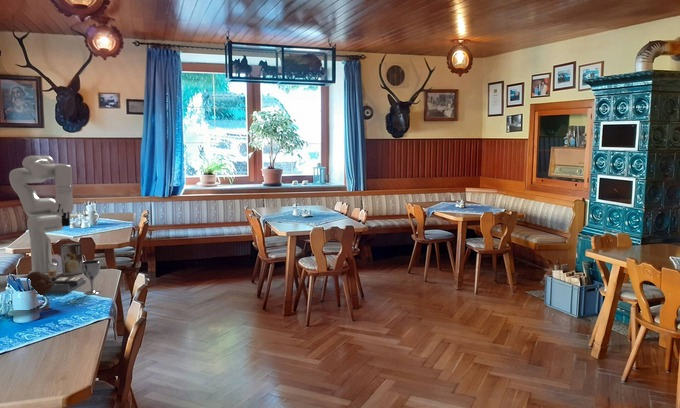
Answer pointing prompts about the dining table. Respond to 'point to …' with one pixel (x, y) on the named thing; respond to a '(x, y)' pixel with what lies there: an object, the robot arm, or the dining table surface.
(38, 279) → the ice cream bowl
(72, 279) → the label
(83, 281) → the psu chassis
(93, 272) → the wine glass
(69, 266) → the coffee box
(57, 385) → the dining table surface
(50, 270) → the swing arm
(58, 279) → the label
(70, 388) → the dining table surface
